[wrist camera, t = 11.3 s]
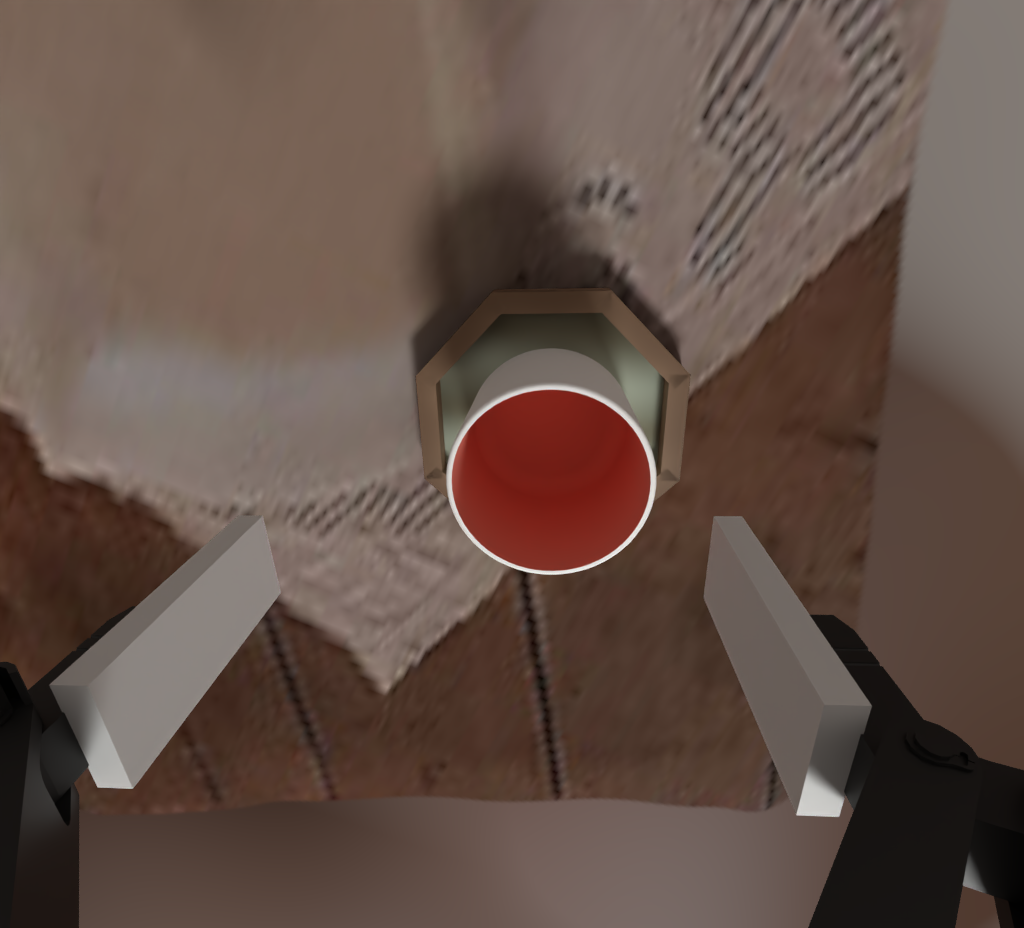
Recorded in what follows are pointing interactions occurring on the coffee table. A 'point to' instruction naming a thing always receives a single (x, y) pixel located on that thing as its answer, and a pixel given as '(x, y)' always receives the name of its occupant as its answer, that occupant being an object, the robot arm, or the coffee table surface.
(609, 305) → the tray
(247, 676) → the coffee table surface
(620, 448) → the cup
